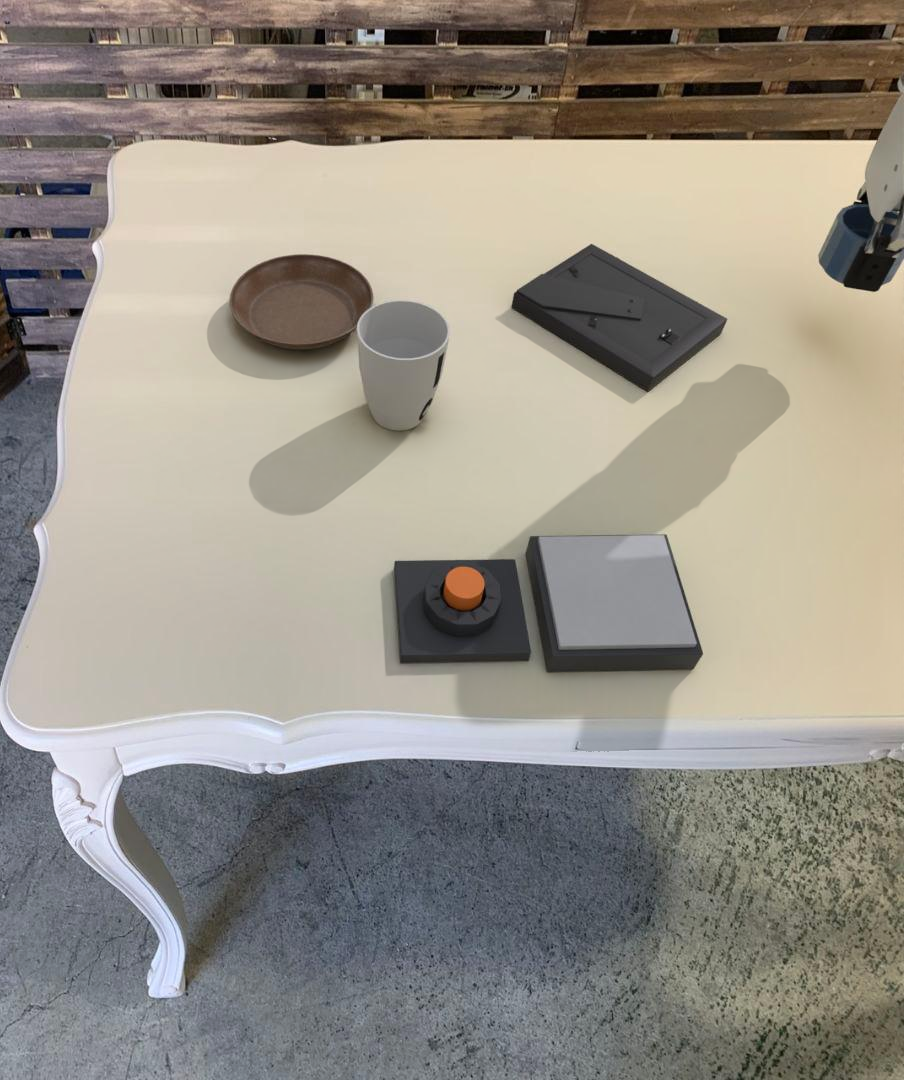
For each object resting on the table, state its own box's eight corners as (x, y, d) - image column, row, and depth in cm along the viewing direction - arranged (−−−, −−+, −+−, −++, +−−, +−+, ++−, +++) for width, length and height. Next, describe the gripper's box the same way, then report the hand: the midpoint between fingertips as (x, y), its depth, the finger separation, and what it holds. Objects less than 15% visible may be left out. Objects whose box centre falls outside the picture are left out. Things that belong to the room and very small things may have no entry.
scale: (658, 551, 76) (669, 529, 74) (693, 669, 69) (706, 649, 67) (525, 553, 76) (531, 531, 74) (546, 672, 69) (554, 652, 67)
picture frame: (511, 307, 96) (647, 392, 89) (514, 290, 94) (654, 375, 87) (587, 258, 102) (722, 333, 94) (591, 240, 100) (729, 316, 93)
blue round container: (887, 256, 89) (912, 210, 85) (894, 297, 85) (921, 251, 81) (814, 244, 90) (835, 198, 86) (817, 285, 86) (840, 238, 82)
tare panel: (512, 567, 75) (518, 545, 73) (528, 661, 70) (535, 640, 67) (393, 568, 75) (395, 547, 72) (400, 663, 69) (402, 643, 67)
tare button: (479, 579, 71) (482, 566, 70) (483, 610, 69) (486, 598, 68) (441, 579, 71) (443, 566, 70) (445, 611, 69) (447, 598, 68)
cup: (441, 443, 84) (451, 361, 76) (354, 441, 84) (355, 358, 76) (438, 384, 89) (448, 301, 81) (356, 381, 89) (358, 298, 81)
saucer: (209, 345, 91) (206, 324, 89) (262, 263, 100) (260, 241, 98) (347, 377, 89) (347, 356, 87) (389, 290, 98) (390, 268, 96)
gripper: (1024, 133, 67) (906, 325, 81) (986, 37, 78) (888, 222, 92) (918, 118, 68) (820, 311, 82) (895, 26, 79) (811, 210, 93)
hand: (856, 263), depth 87 cm, fingers closed on blue round container, 7 cm apart
